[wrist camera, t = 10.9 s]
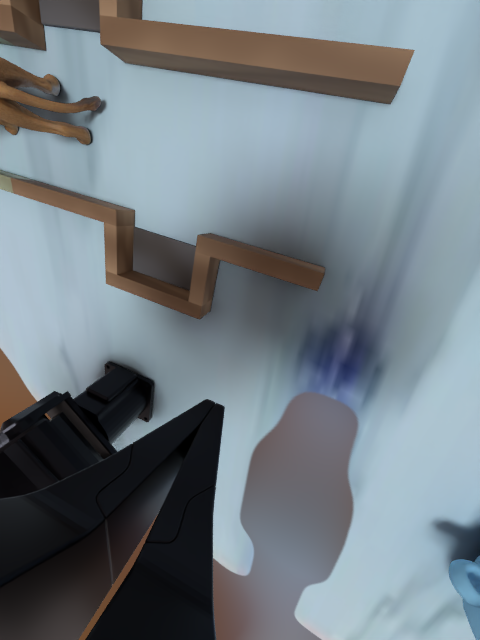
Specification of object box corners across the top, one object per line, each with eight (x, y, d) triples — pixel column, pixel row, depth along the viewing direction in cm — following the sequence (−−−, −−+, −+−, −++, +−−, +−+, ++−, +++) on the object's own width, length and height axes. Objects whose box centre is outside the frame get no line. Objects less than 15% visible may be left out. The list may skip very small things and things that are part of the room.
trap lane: (295, 342, 20) (291, 355, 18) (-17, 226, 27) (-41, 227, 25) (469, -96, 10) (500, -163, 8) (-99, -95, 17) (-148, -131, 15)
